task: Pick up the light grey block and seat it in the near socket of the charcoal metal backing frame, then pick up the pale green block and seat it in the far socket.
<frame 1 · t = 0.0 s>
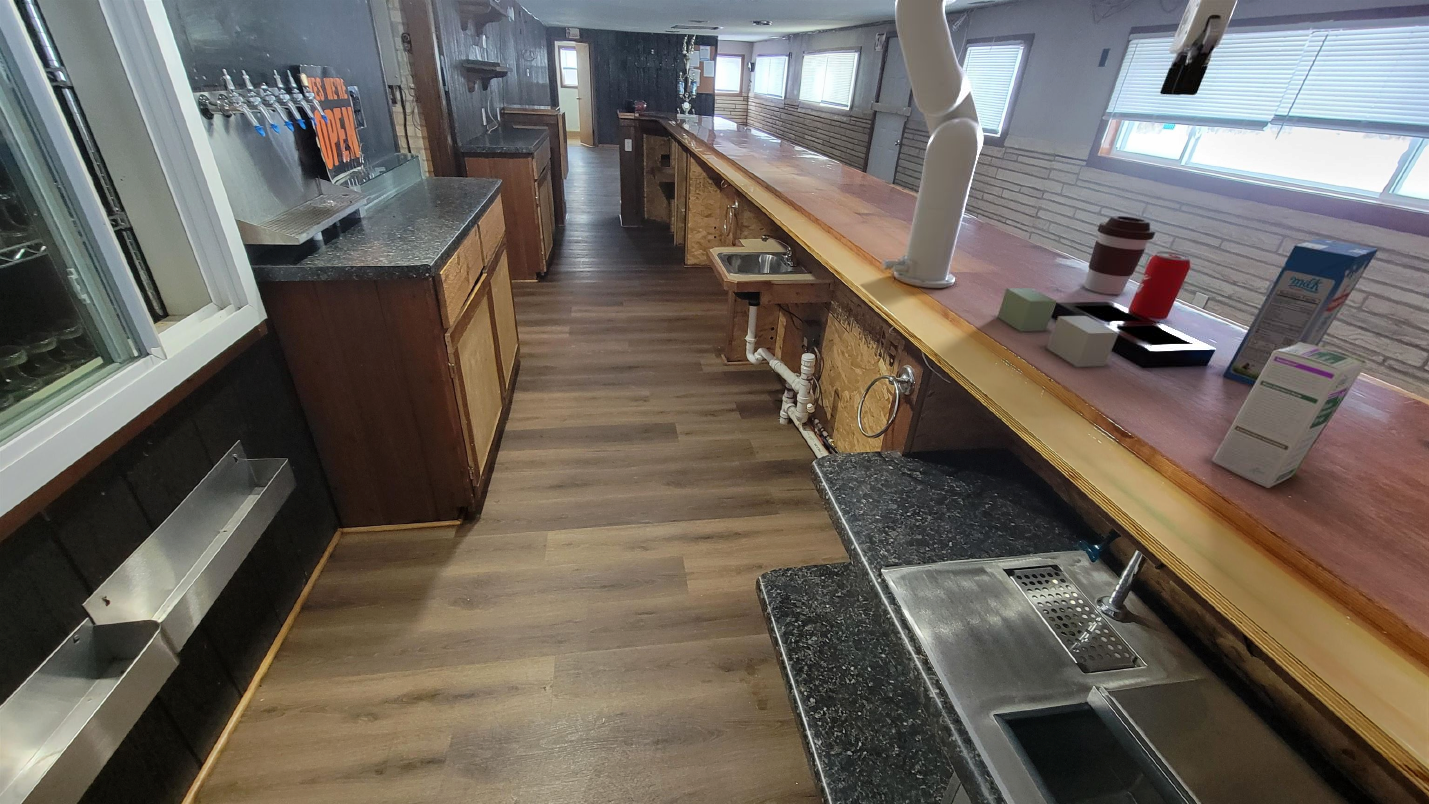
hand: (1176, 94, 93), 37 cm above the counter, tool pointing down, fingers open, 9 cm apart
beverage can: (1145, 318, 108), on the counter
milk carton: (1259, 378, 87), on the counter
coffee cup: (1102, 290, 123), on the counter
backing frame: (1122, 339, 98), on the counter
pale green block: (1021, 323, 102), on the counter
light grey block: (1074, 356, 90), on the counter
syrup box: (1249, 470, 65), on the counter
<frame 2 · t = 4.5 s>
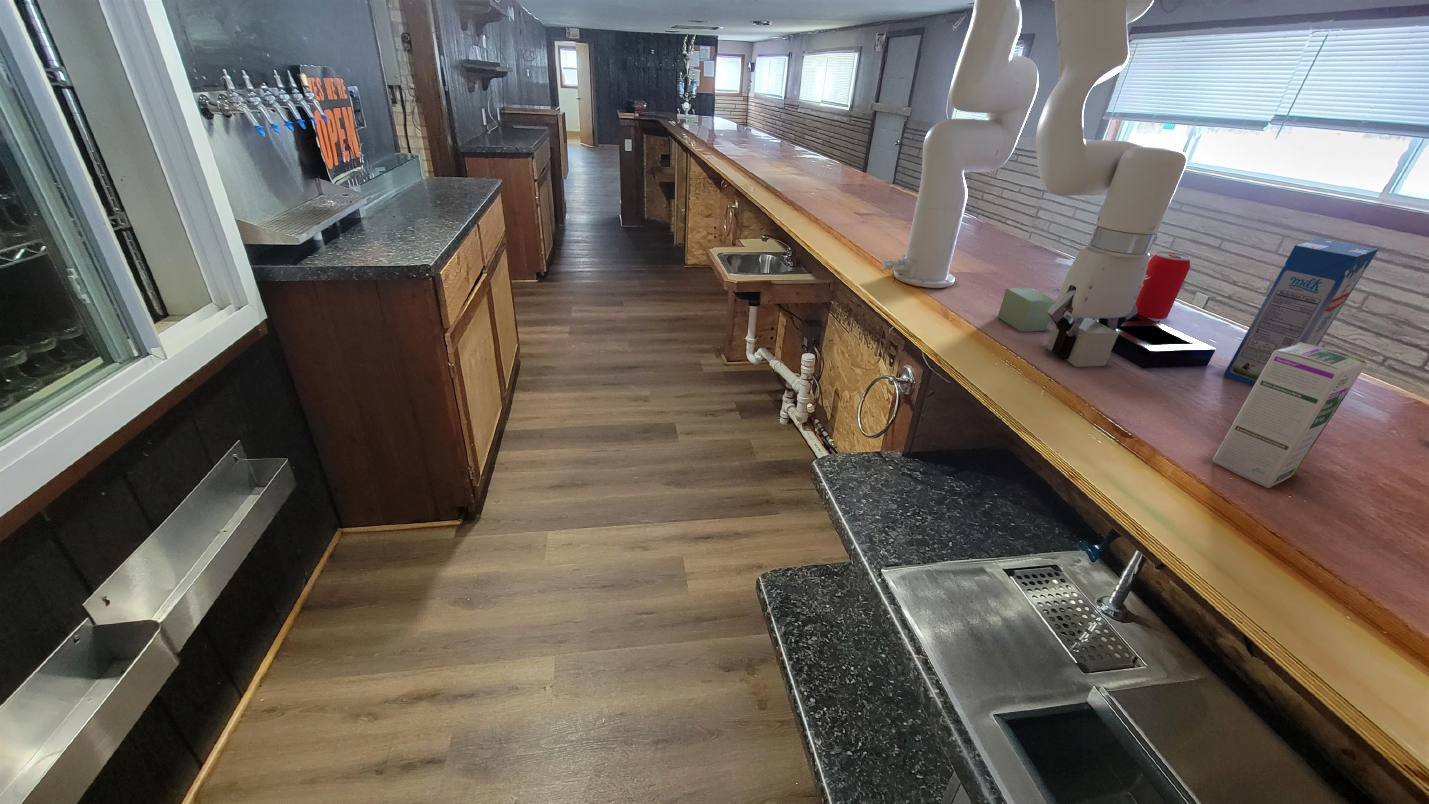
hand: (1075, 354, 90), 0 cm above the counter, tool pointing down, fingers closed on light grey block, 5 cm apart
light grey block: (1074, 356, 90), on the counter, touching gripper
everything else where it was.
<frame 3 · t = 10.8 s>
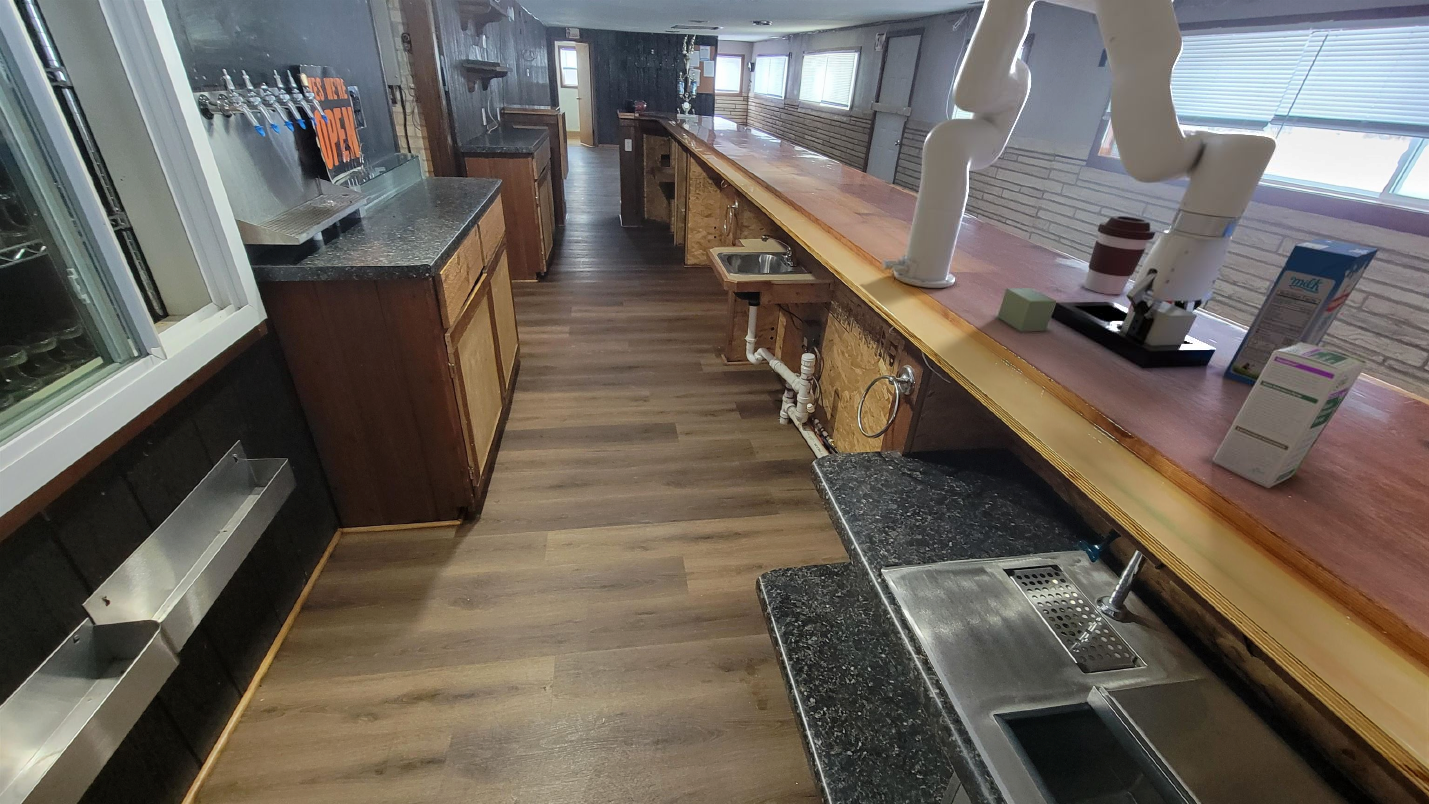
hand: (1150, 336, 92), 3 cm above the counter, tool pointing down, fingers closed on light grey block, 5 cm apart
light grey block: (1149, 339, 93), point 2 cm above the counter, touching gripper
everything else where it was.
when the fingers open (3 cm above the counter, at t = 19.5 s): light grey block drops 3 cm, resting in backing frame.
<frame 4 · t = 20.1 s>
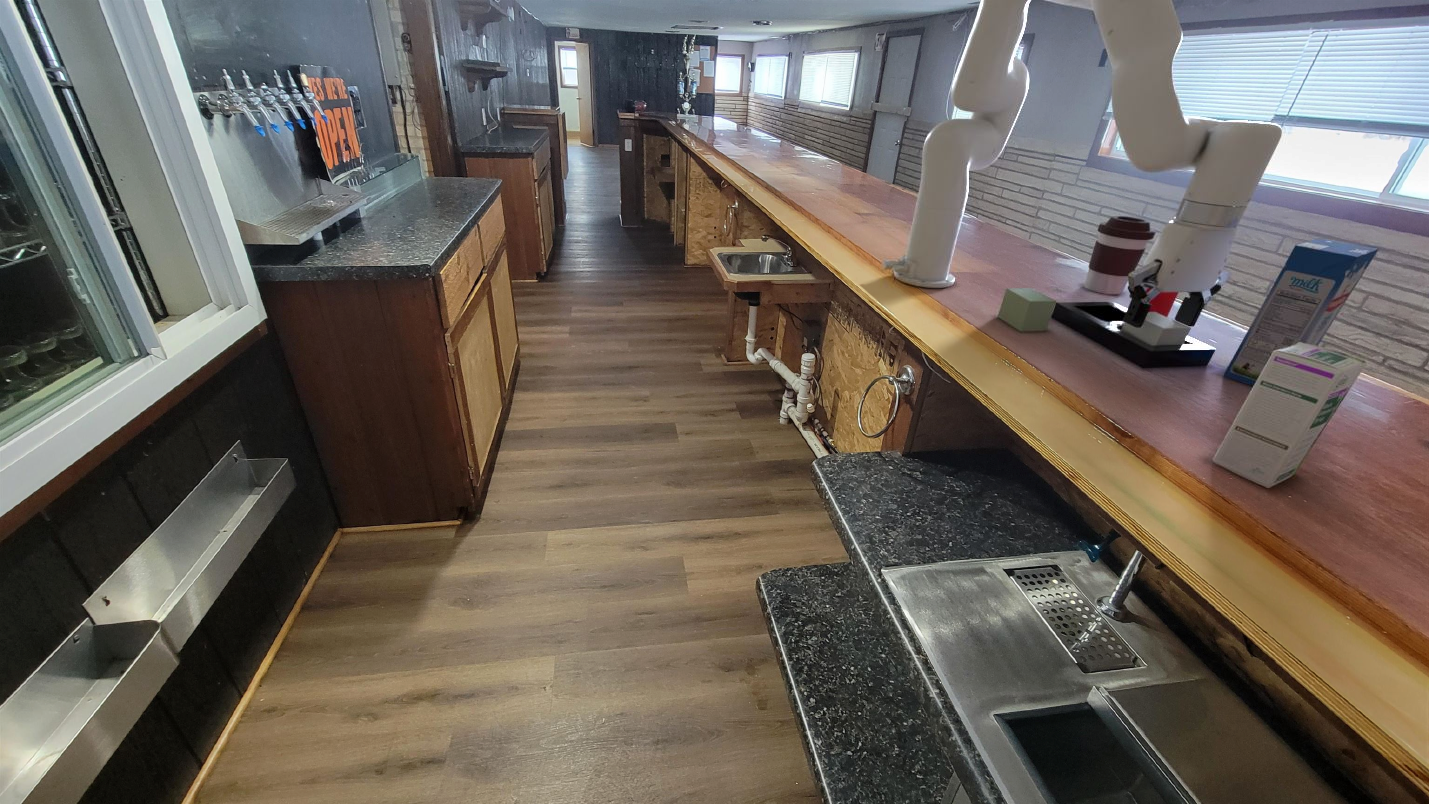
hand: (1157, 324, 91), 5 cm above the counter, tool pointing down, fingers open, 9 cm apart
light grey block: (1144, 351, 94), resting in backing frame
everything else where it was.
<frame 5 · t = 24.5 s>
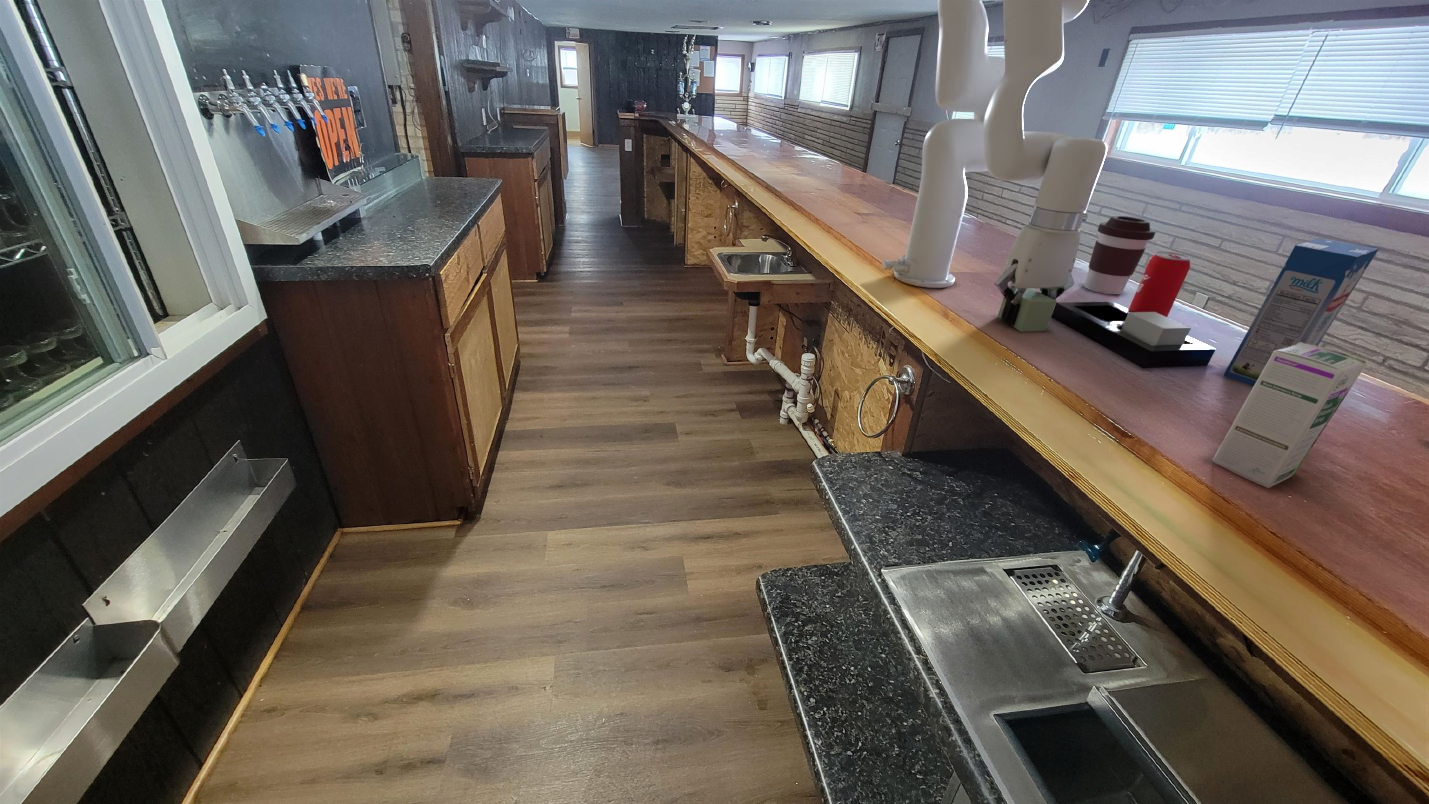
hand: (1021, 321, 102), 0 cm above the counter, tool pointing down, fingers closed on pale green block, 5 cm apart
pale green block: (1021, 323, 102), on the counter, touching gripper
everything else where it was.
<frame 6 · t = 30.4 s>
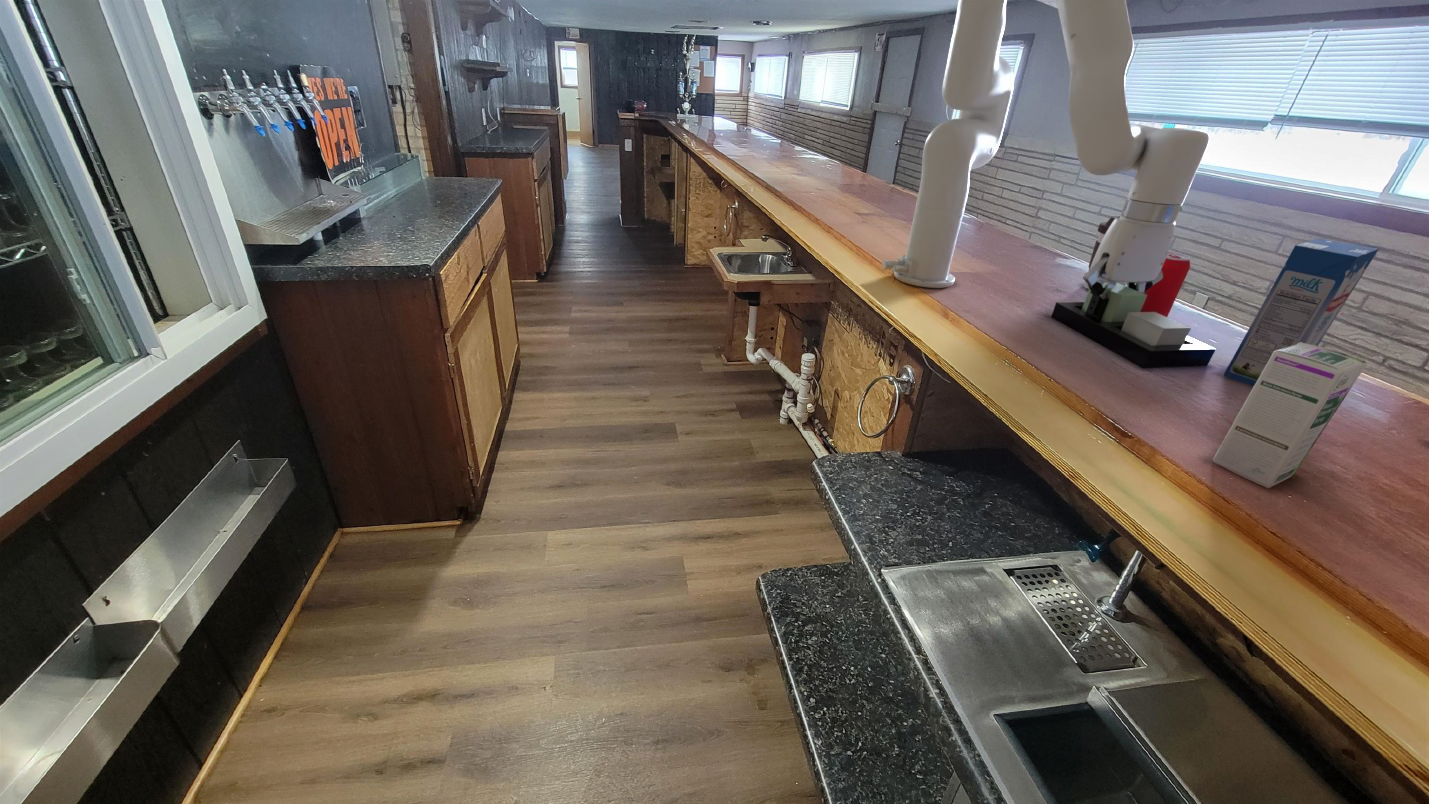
hand: (1107, 316, 101), 2 cm above the counter, tool pointing down, fingers closed on pale green block, 5 cm apart
pale green block: (1106, 318, 101), point 2 cm above the counter, touching gripper
everything else where it was.
when the fingers open (4 cm above the counter, at t = 39.3 s): pale green block drops 3 cm, resting in backing frame.
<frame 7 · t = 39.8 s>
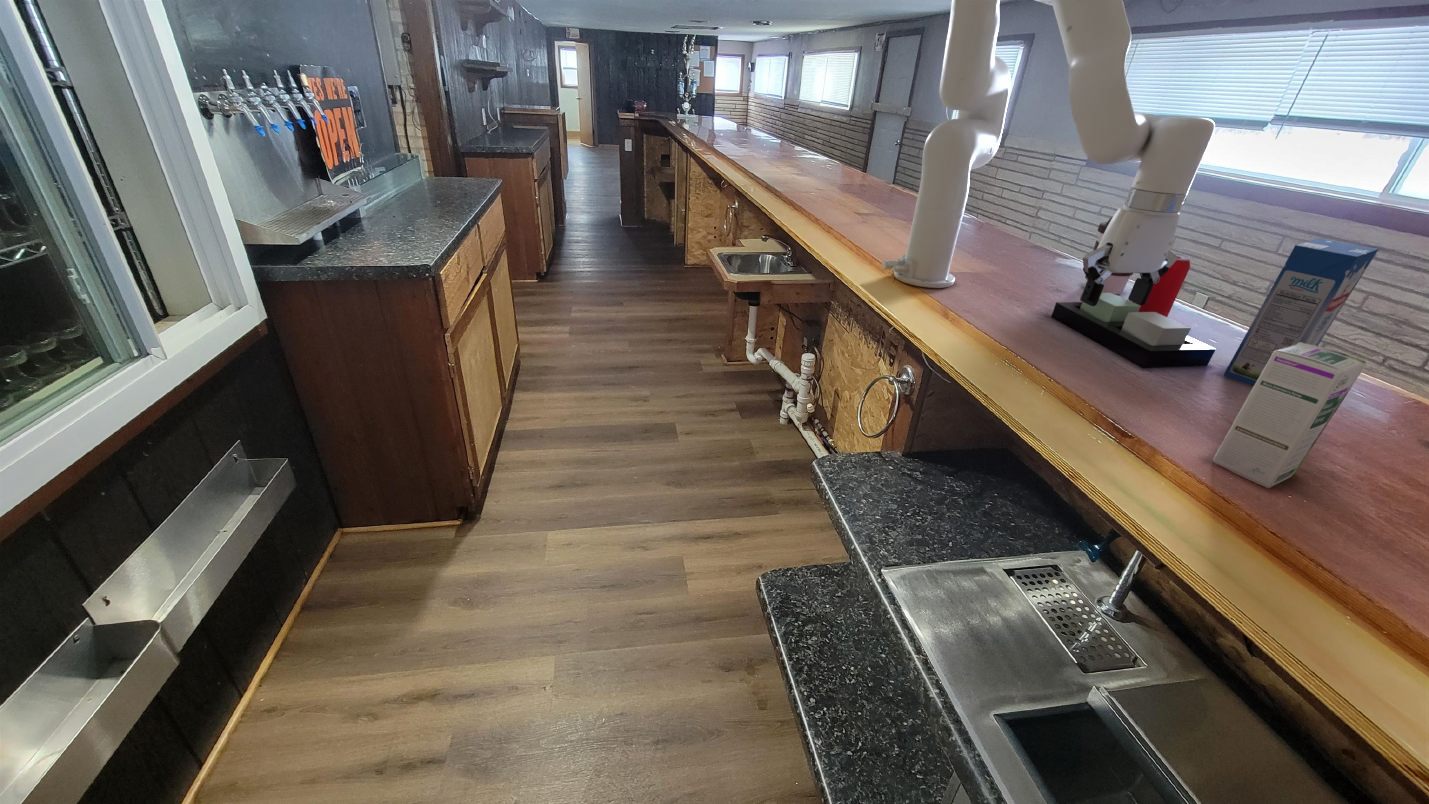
hand: (1112, 303, 99), 5 cm above the counter, tool pointing down, fingers open, 9 cm apart
pale green block: (1100, 328, 102), resting in backing frame
everything else where it was.
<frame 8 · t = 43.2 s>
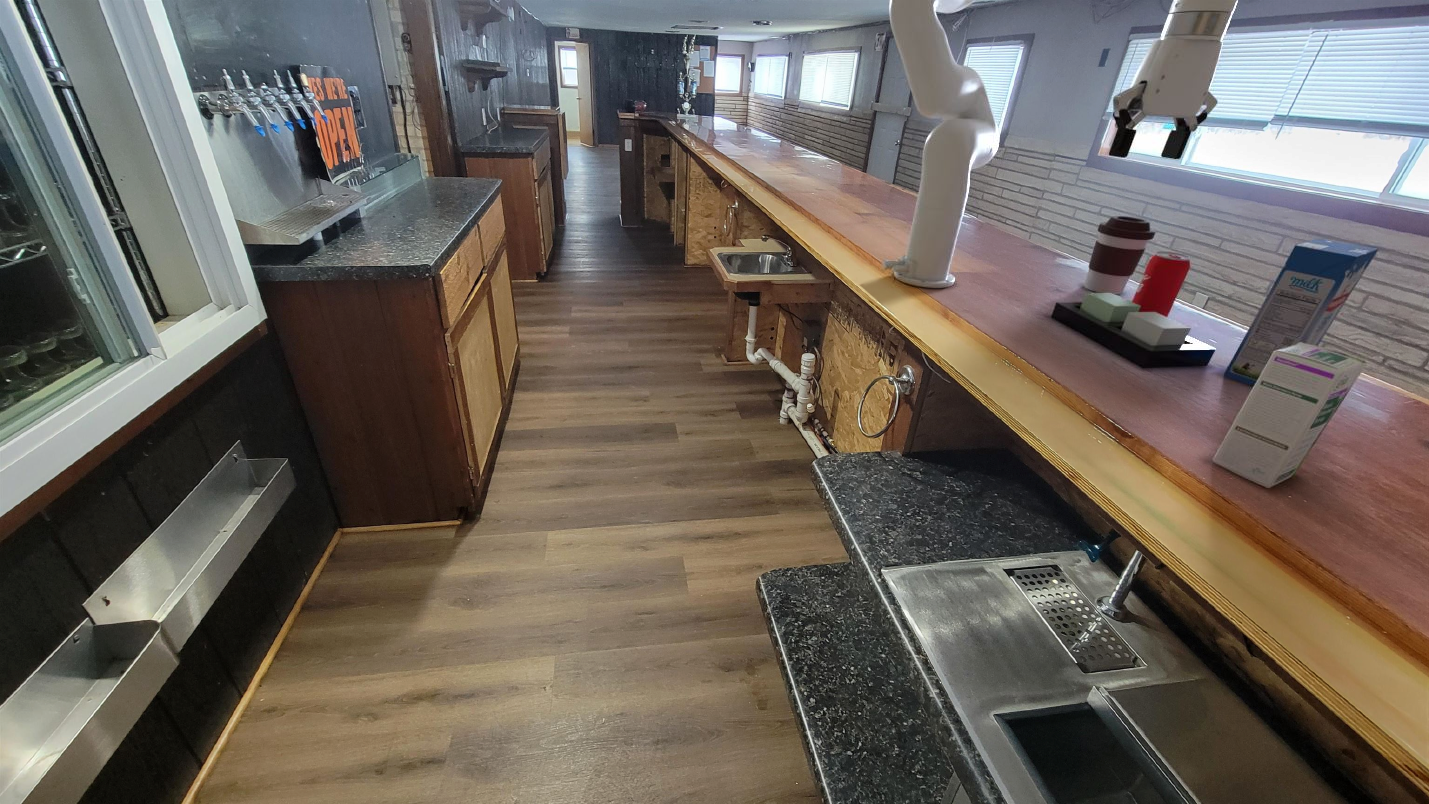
hand: (1143, 157, 90), 28 cm above the counter, tool pointing down, fingers open, 9 cm apart
nothing on the counter moved.
at the end: light grey block 0.0 cm from the target spot in the backing frame, point 0.0 cm above the backing frame's base; pale green block 0.1 cm from the target spot in the backing frame, point 0.0 cm above the backing frame's base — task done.
